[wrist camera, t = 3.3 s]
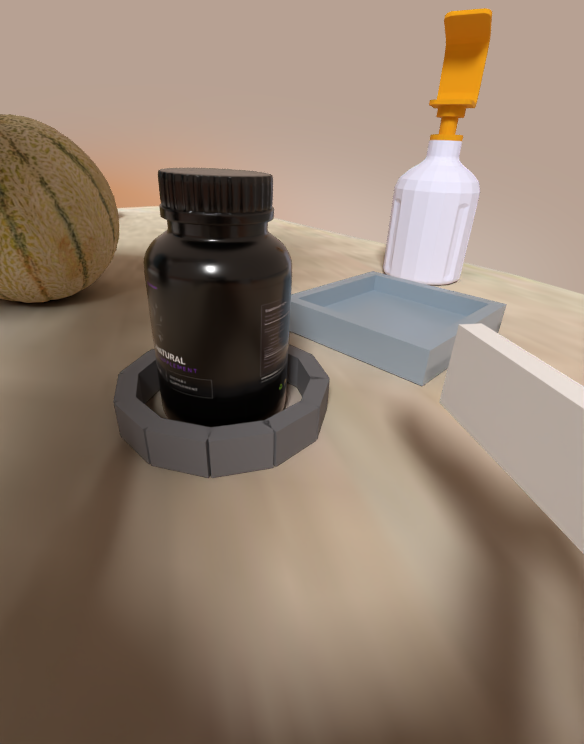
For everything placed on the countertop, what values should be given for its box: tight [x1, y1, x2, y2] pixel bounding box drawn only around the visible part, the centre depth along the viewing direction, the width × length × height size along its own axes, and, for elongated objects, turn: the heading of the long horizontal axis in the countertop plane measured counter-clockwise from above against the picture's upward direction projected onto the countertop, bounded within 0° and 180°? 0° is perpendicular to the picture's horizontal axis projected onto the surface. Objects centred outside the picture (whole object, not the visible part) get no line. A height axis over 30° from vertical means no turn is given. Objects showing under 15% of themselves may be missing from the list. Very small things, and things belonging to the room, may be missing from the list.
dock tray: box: [289, 271, 507, 386], centre depth 33 cm, size 13×13×2 cm
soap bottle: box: [383, 8, 492, 285], centre depth 43 cm, size 9×9×25 cm
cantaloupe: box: [0, 114, 119, 303], centre depth 34 cm, size 15×15×15 cm
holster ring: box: [113, 344, 329, 478], centre depth 22 cm, size 11×11×2 cm
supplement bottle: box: [144, 168, 292, 427], centre depth 20 cm, size 7×7×12 cm
